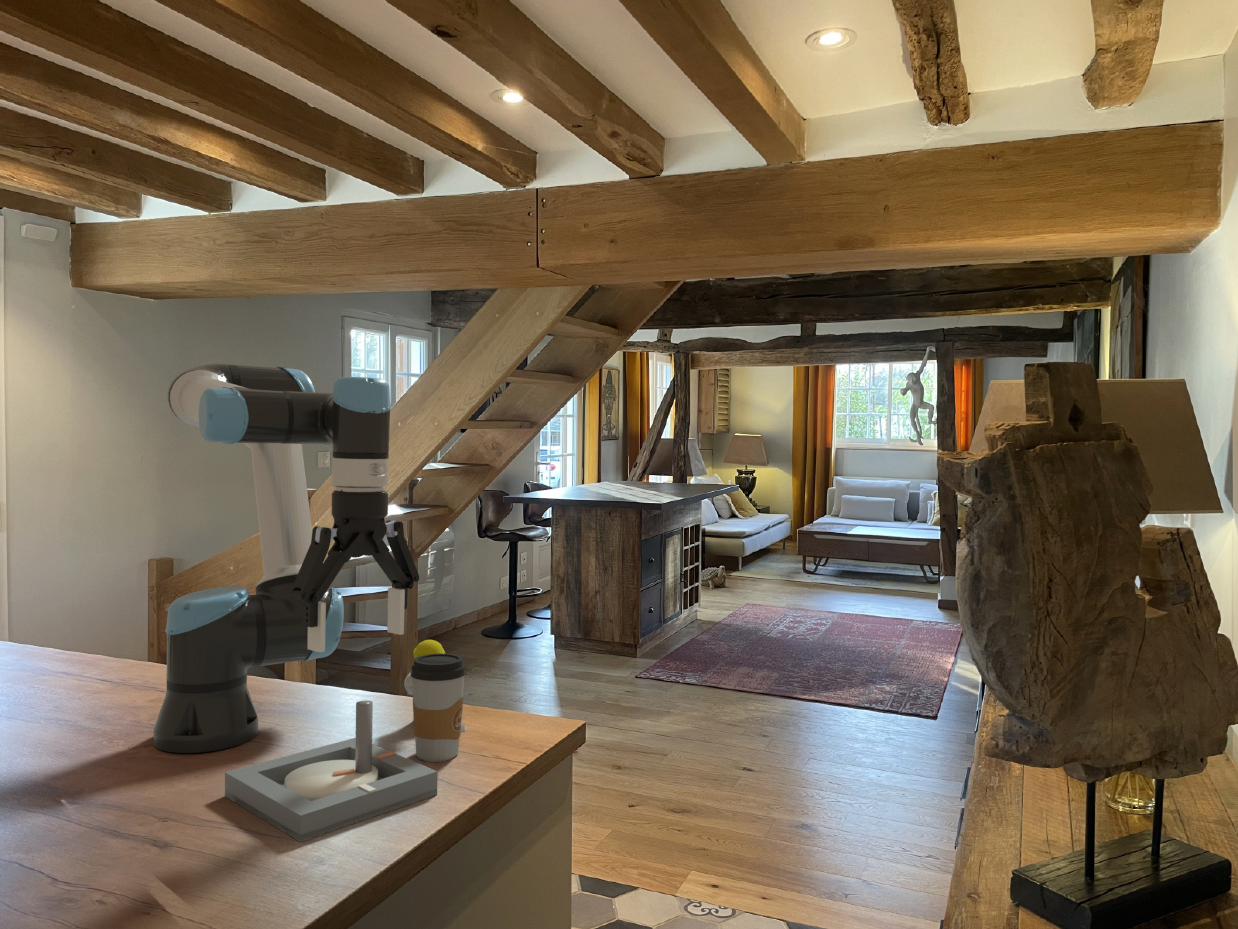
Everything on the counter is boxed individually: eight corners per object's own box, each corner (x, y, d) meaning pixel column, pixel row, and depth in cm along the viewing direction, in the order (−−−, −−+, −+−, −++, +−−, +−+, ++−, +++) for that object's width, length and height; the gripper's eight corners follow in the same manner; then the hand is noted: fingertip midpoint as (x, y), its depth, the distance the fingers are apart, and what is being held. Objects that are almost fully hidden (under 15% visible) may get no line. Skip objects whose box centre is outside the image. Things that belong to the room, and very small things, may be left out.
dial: (291, 811, 111) (292, 725, 111) (279, 779, 122) (279, 700, 122) (386, 795, 117) (387, 713, 117) (367, 765, 128) (368, 690, 127)
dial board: (224, 796, 119) (225, 770, 118) (356, 758, 134) (356, 736, 133) (300, 842, 105) (300, 814, 105) (437, 794, 120) (437, 770, 120)
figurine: (409, 743, 141) (411, 650, 140) (399, 726, 149) (400, 638, 149) (471, 736, 145) (473, 645, 144) (458, 720, 153) (459, 634, 153)
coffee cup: (452, 768, 130) (453, 667, 130) (399, 763, 132) (401, 663, 131) (473, 749, 138) (474, 654, 138) (423, 745, 140) (424, 651, 140)
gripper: (299, 494, 110) (296, 663, 110) (445, 487, 130) (442, 630, 131) (263, 490, 114) (261, 653, 115) (410, 484, 134) (407, 623, 135)
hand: (357, 641), depth 123 cm, fingers open, 13 cm apart
